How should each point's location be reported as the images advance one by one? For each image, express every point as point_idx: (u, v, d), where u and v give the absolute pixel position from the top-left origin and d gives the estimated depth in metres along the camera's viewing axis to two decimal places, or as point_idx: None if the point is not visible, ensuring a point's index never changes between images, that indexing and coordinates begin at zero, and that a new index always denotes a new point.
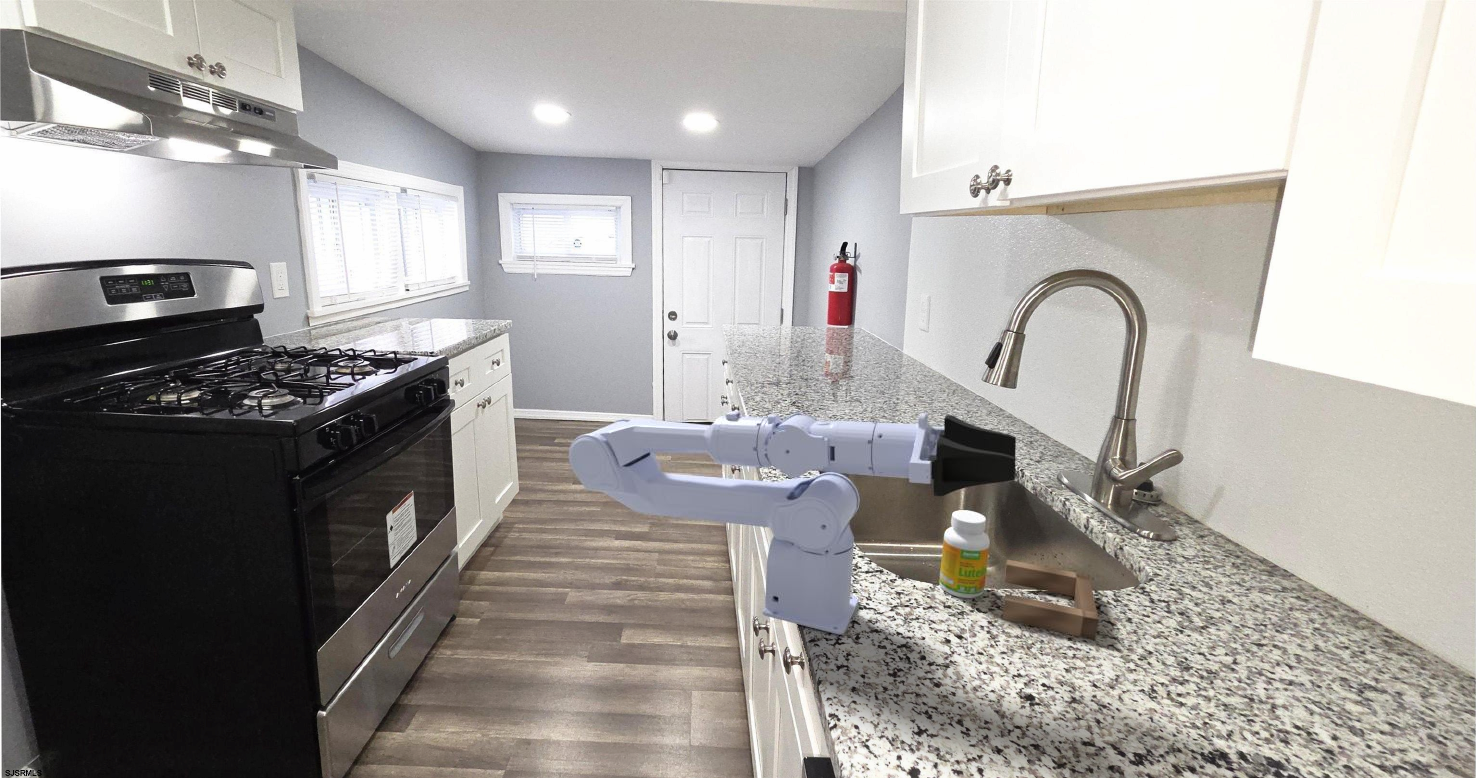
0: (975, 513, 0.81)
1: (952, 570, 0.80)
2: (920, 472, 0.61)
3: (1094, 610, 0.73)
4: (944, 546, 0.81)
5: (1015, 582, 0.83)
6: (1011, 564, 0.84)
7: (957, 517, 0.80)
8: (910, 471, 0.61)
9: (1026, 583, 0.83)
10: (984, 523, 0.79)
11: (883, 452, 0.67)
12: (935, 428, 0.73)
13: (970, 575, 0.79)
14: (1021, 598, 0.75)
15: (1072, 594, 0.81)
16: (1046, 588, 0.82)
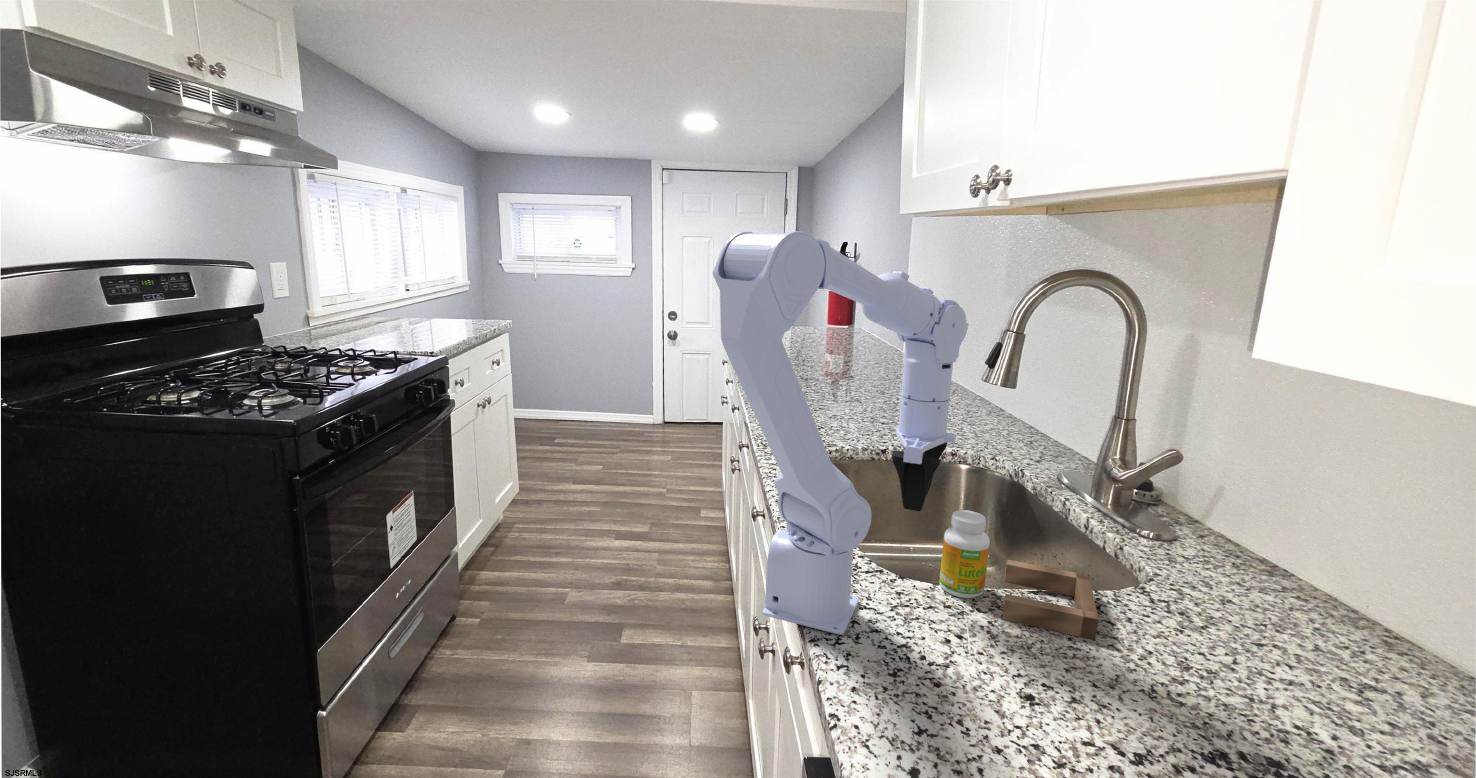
0: (975, 513, 0.81)
1: (952, 570, 0.80)
2: (913, 455, 0.74)
3: (1094, 610, 0.73)
4: (944, 546, 0.81)
5: (1015, 582, 0.83)
6: (1011, 564, 0.84)
7: (957, 517, 0.80)
8: (914, 448, 0.74)
9: (1026, 583, 0.83)
10: (984, 523, 0.79)
11: (925, 411, 0.77)
12: None
13: (970, 575, 0.79)
14: (1021, 598, 0.75)
15: (1072, 594, 0.81)
16: (1046, 588, 0.82)
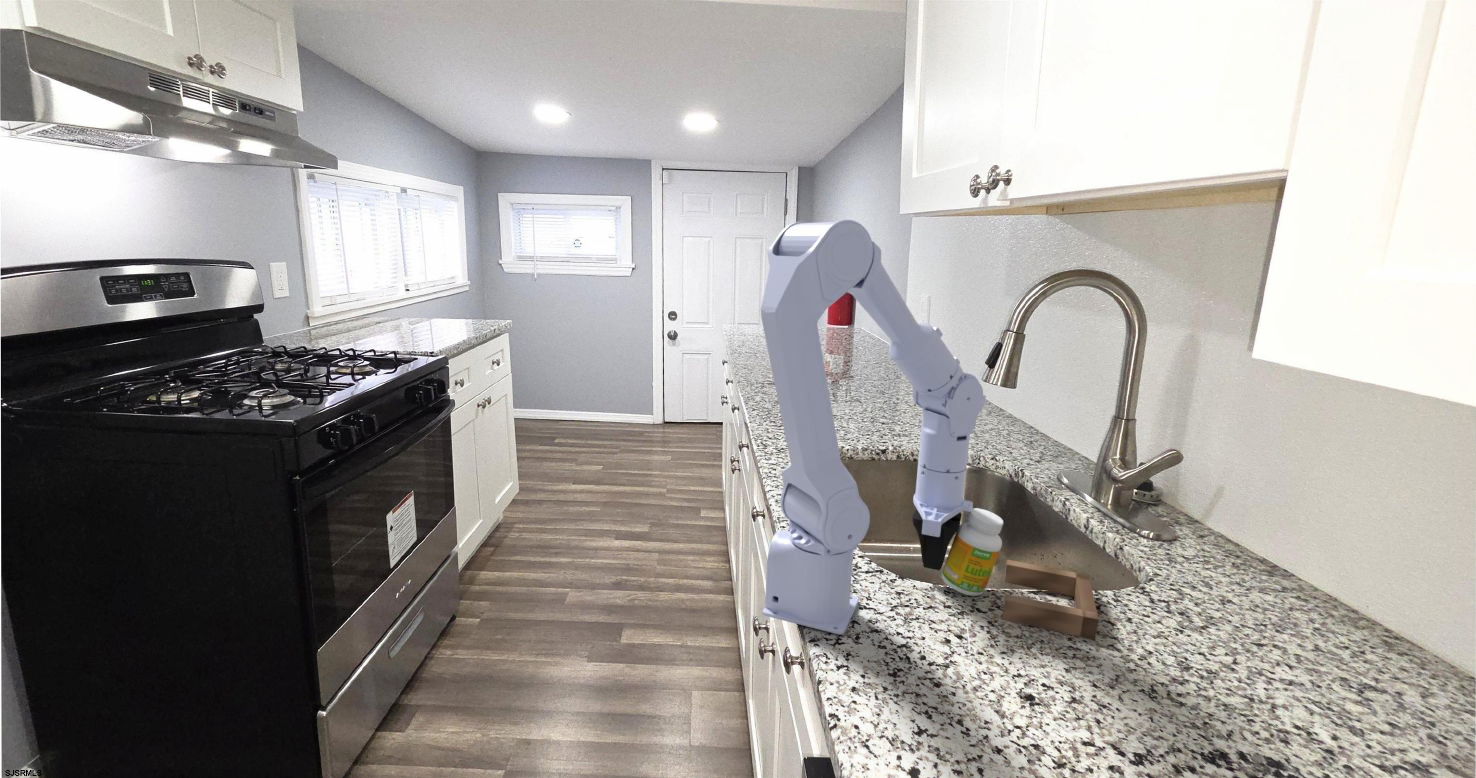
0: (993, 514, 0.81)
1: (959, 565, 0.79)
2: (931, 528, 0.75)
3: (1094, 610, 0.73)
4: (955, 540, 0.80)
5: (1015, 582, 0.83)
6: (1011, 564, 0.84)
7: (975, 515, 0.79)
8: (932, 521, 0.75)
9: (1026, 583, 0.83)
10: (1001, 526, 0.78)
11: (942, 481, 0.78)
12: None
13: (976, 573, 0.79)
14: (1021, 598, 0.75)
15: (1072, 594, 0.81)
16: (1046, 588, 0.82)
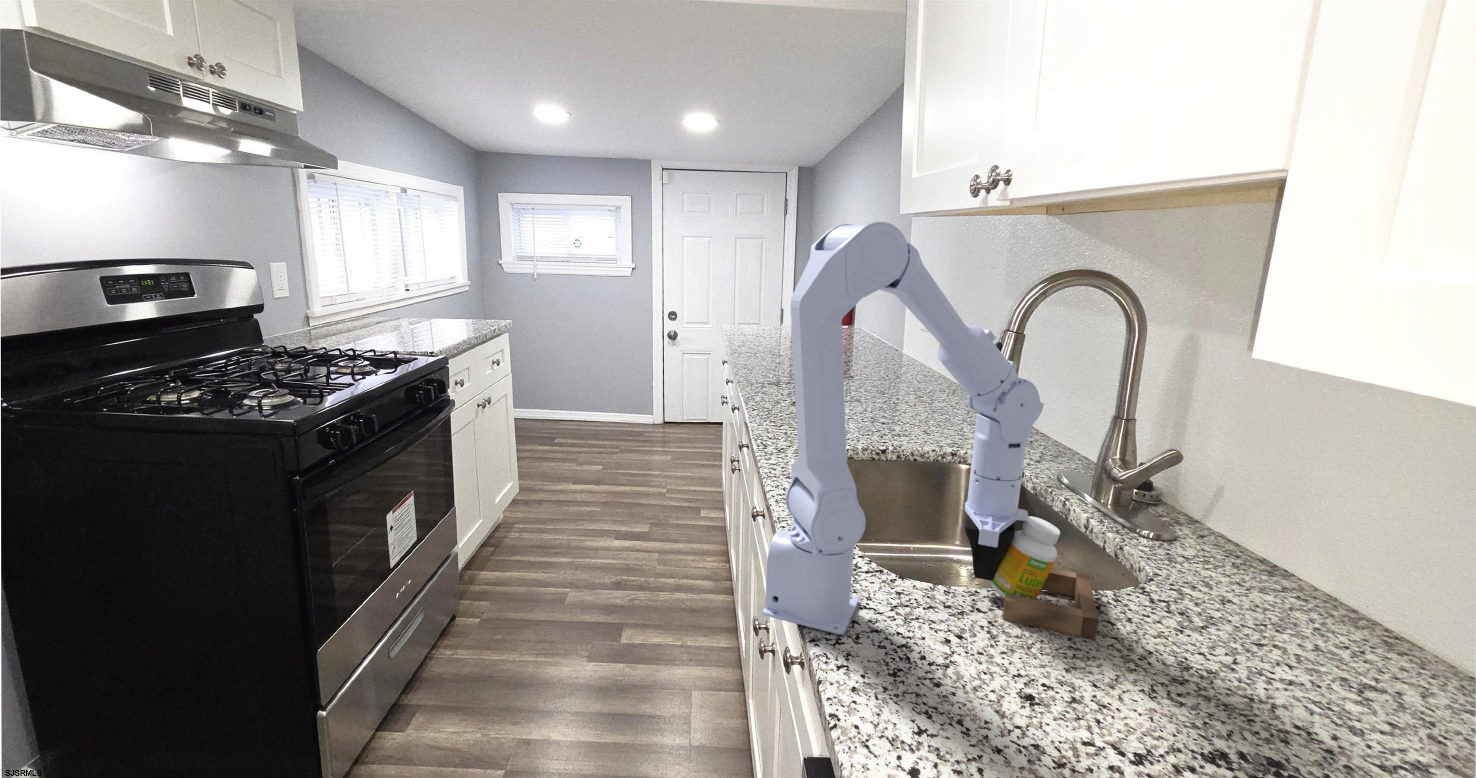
0: (1048, 523, 0.78)
1: (1013, 574, 0.77)
2: (989, 538, 0.73)
3: (1094, 610, 0.73)
4: (1009, 549, 0.78)
5: None
6: None
7: (1032, 524, 0.77)
8: (990, 531, 0.72)
9: None
10: (1058, 536, 0.76)
11: (998, 490, 0.76)
12: None
13: (1030, 583, 0.77)
14: (1021, 598, 0.75)
15: (1072, 594, 0.81)
16: (1046, 588, 0.82)
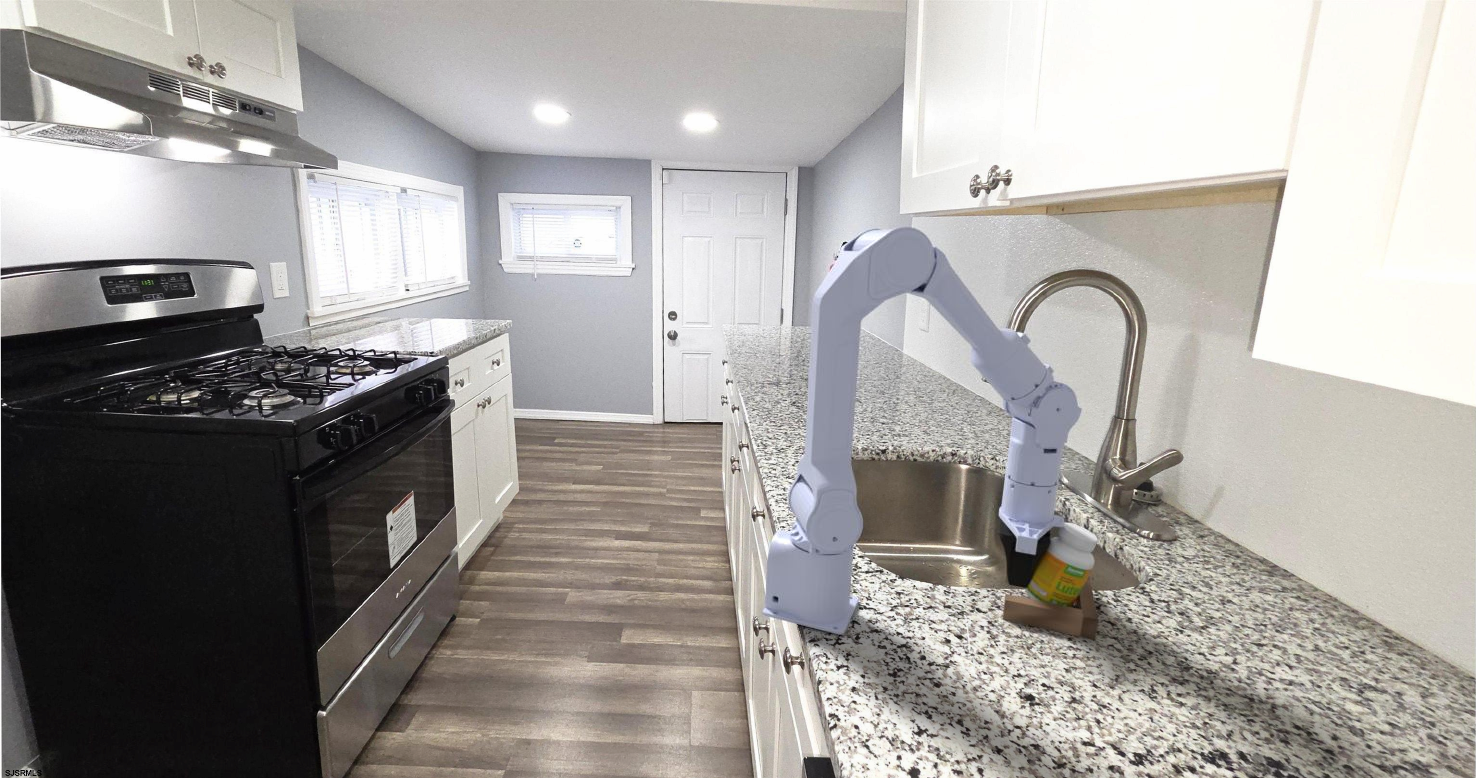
0: (1084, 529, 0.77)
1: (1049, 582, 0.76)
2: (1027, 545, 0.71)
3: (1094, 610, 0.73)
4: (1045, 556, 0.77)
5: None
6: None
7: (1069, 530, 0.75)
8: (1028, 538, 0.71)
9: None
10: (1096, 542, 0.75)
11: (1035, 496, 0.74)
12: None
13: (1067, 591, 0.75)
14: (1021, 598, 0.75)
15: None
16: None
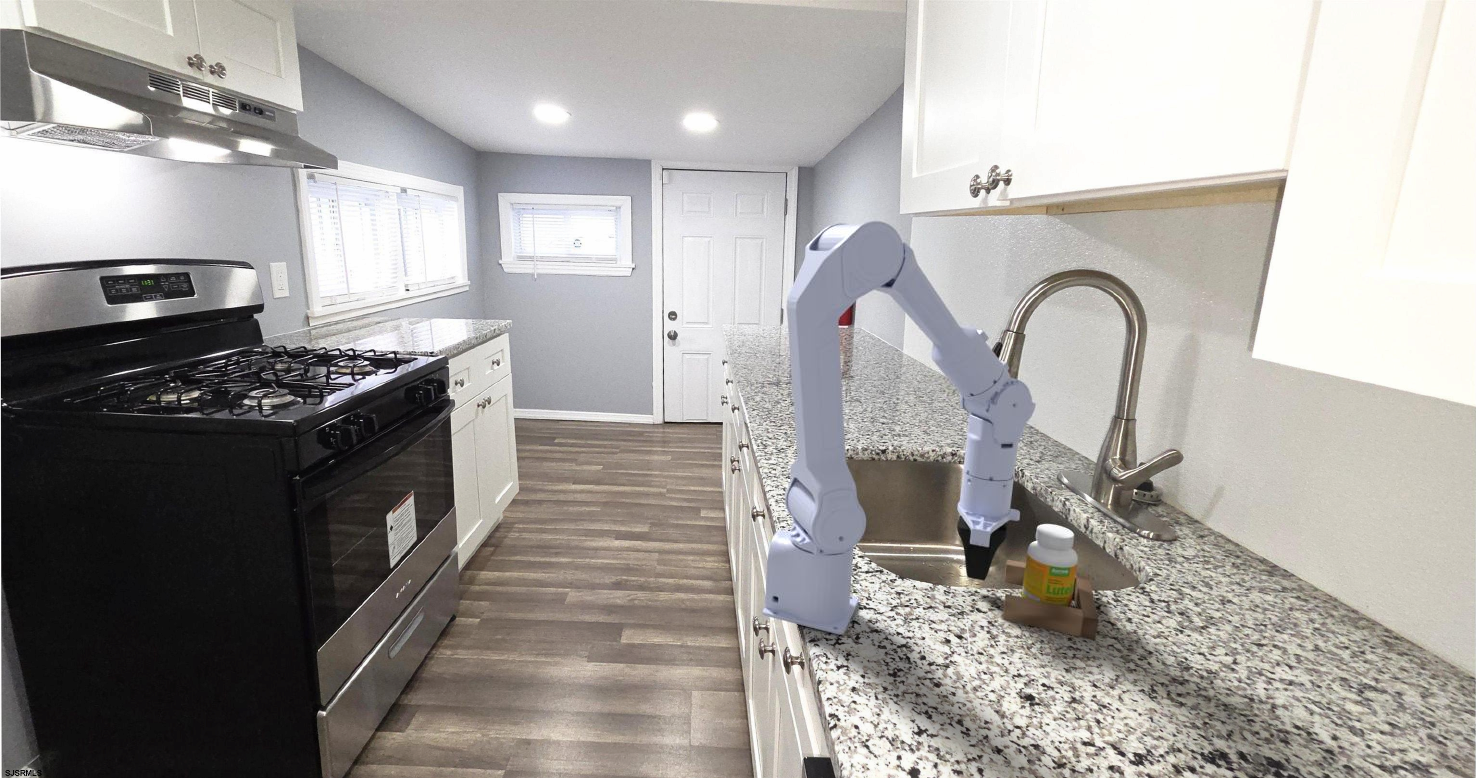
0: (1060, 527, 0.78)
1: (1039, 587, 0.76)
2: (980, 538, 0.73)
3: (1094, 610, 0.73)
4: (1029, 562, 0.77)
5: (1015, 582, 0.83)
6: (1011, 564, 0.84)
7: (1044, 532, 0.76)
8: (981, 530, 0.73)
9: None
10: (1073, 538, 0.76)
11: (990, 490, 0.76)
12: None
13: (1058, 592, 0.75)
14: (1021, 598, 0.75)
15: None
16: None
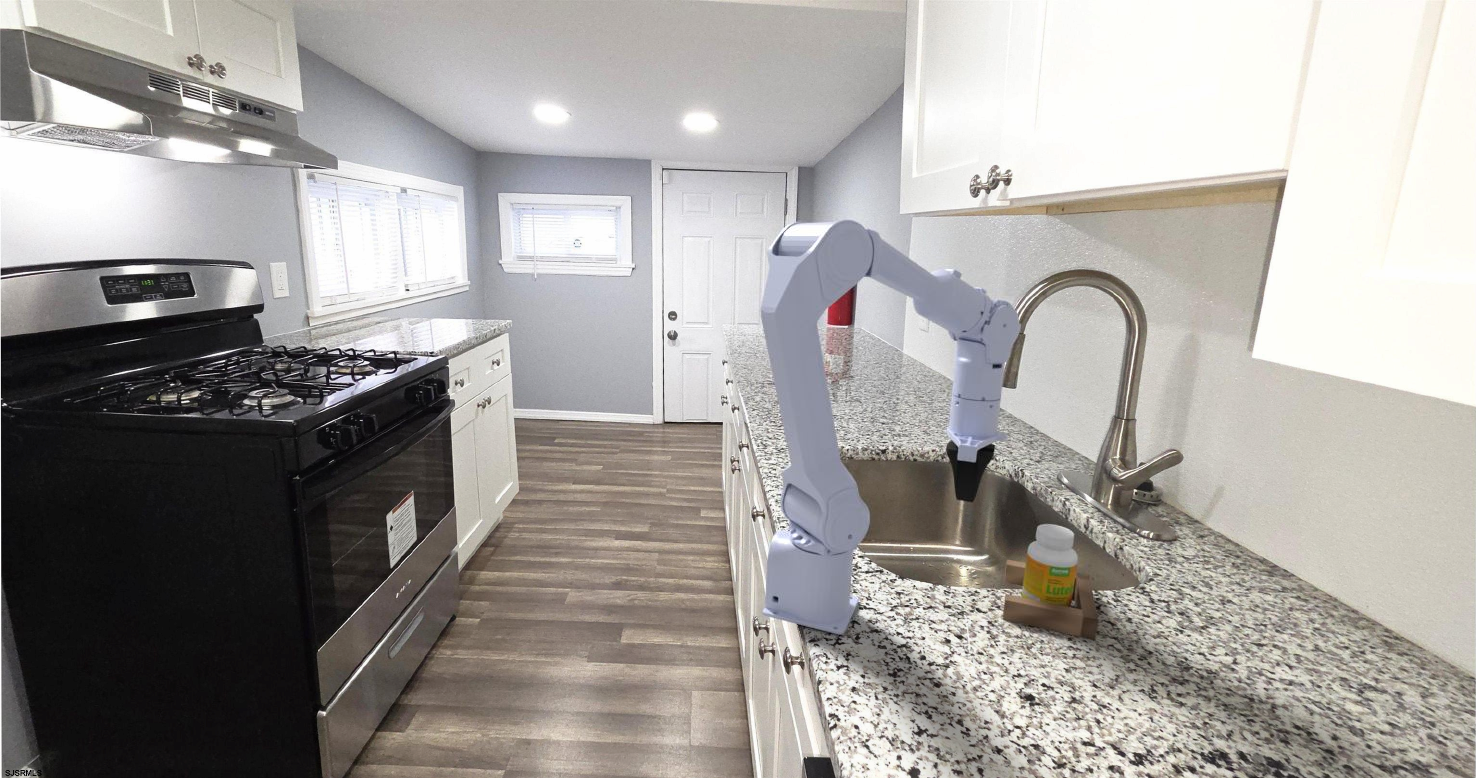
0: (1060, 527, 0.78)
1: (1039, 587, 0.76)
2: (967, 454, 0.75)
3: (1094, 610, 0.73)
4: (1029, 562, 0.77)
5: (1015, 582, 0.83)
6: (1011, 564, 0.84)
7: (1044, 532, 0.76)
8: (968, 446, 0.75)
9: None
10: (1073, 538, 0.76)
11: (977, 410, 0.78)
12: None
13: (1058, 592, 0.75)
14: (1021, 598, 0.75)
15: None
16: None
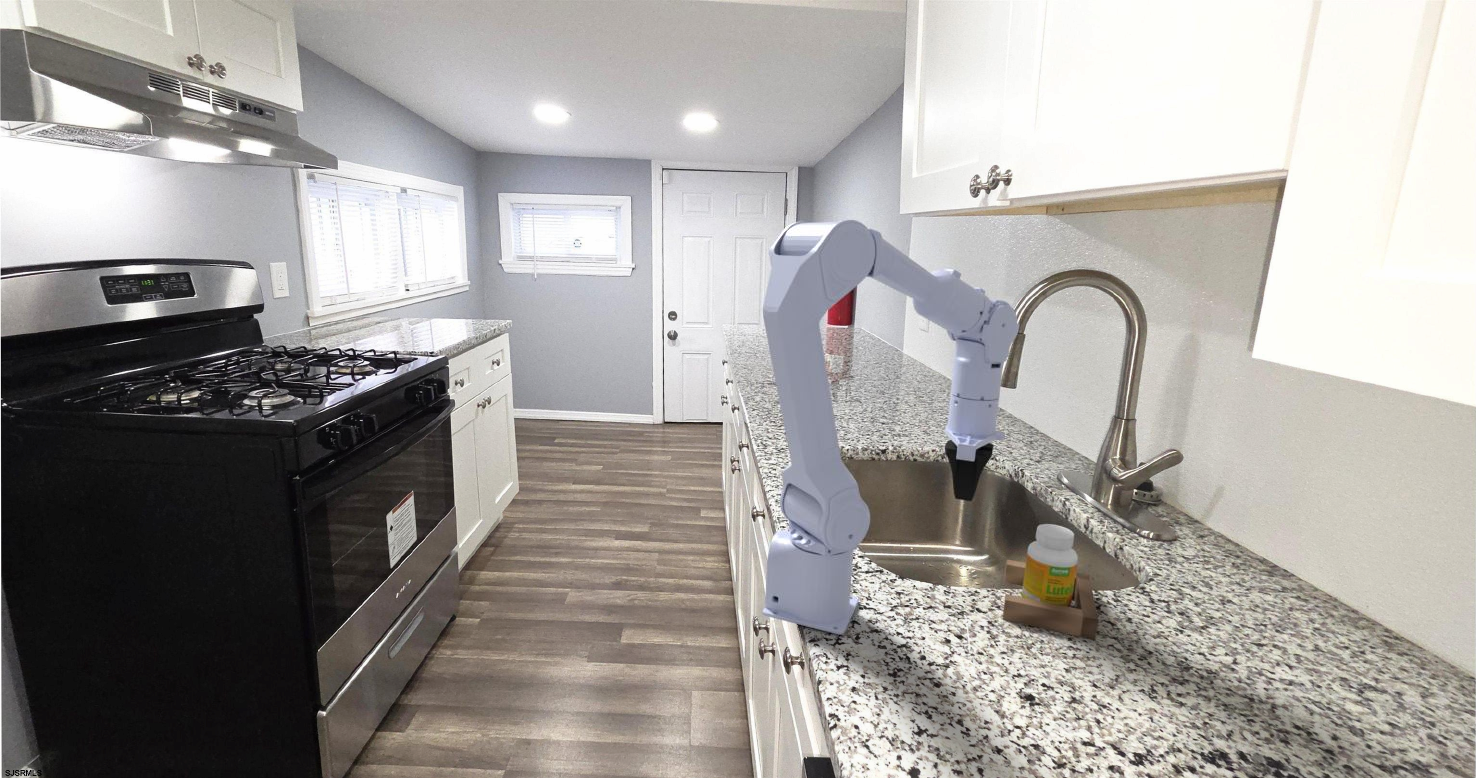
0: (1060, 527, 0.78)
1: (1039, 587, 0.76)
2: (966, 453, 0.76)
3: (1094, 610, 0.73)
4: (1029, 562, 0.77)
5: (1015, 582, 0.83)
6: (1011, 564, 0.84)
7: (1044, 532, 0.76)
8: (967, 445, 0.76)
9: None
10: (1073, 538, 0.76)
11: (976, 409, 0.79)
12: None
13: (1058, 592, 0.75)
14: (1021, 598, 0.75)
15: None
16: None
